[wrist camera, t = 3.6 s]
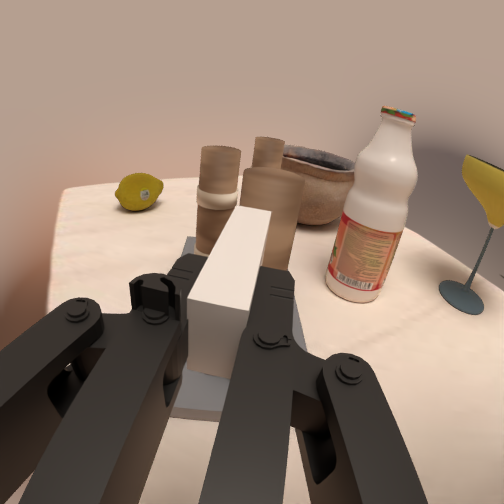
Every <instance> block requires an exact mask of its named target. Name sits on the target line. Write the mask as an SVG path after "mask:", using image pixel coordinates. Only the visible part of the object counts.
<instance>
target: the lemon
mask: <svg viewBox="0 0 504 504" xmlns="http://www.w3.org/2000/svg"><path fill="white" fill-rule="evenodd" d="M162 190H163V182H162V181H161V180H158V179H157V178H155V177H153V176H151V175H149V174H145V173H135V174H131V175H128V176H126V177H125V178H124V179H123V180H122V181H121V182H120V184H119V187H118V189H117V190H116V191H115V196H116V198H117V199H118V200H119V202H120V204H121V205H122V206H123V207H124V208H125V209H128V210H132V211H138V210H143V209H145V208H147V207H149V206H151V205H152V204H153V203H154V202H155V201H156V200H157V198H158V196H159V195H160V194H161V192H162Z"/></svg>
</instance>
